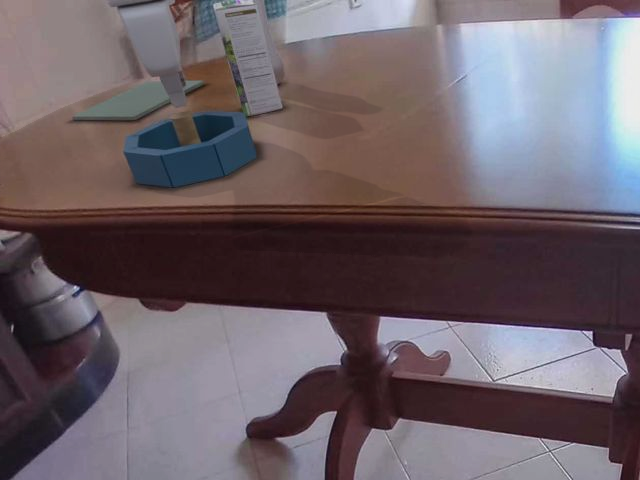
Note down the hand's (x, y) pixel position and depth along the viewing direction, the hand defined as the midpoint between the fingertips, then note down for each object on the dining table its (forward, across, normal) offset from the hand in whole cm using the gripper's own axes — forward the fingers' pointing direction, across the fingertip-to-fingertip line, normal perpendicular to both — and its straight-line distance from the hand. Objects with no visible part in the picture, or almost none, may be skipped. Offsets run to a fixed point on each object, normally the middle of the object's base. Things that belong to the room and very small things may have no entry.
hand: (180, 95), depth 90 cm
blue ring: (+7, +6, 0) cm, 9 cm away
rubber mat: (+6, -30, -8) cm, 31 cm away
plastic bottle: (+7, -24, +12) cm, 27 cm away
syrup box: (+7, -12, +10) cm, 17 cm away
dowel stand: (+7, +6, 0) cm, 9 cm away
